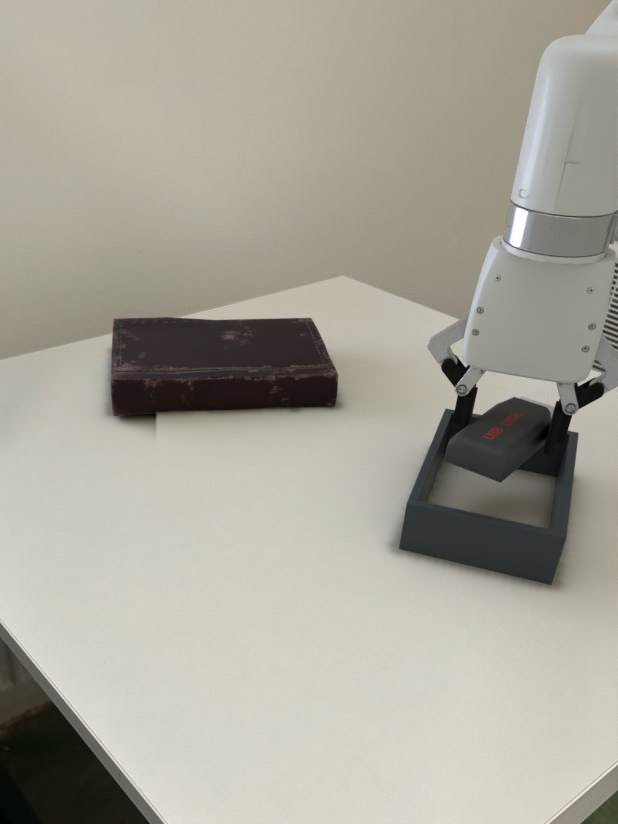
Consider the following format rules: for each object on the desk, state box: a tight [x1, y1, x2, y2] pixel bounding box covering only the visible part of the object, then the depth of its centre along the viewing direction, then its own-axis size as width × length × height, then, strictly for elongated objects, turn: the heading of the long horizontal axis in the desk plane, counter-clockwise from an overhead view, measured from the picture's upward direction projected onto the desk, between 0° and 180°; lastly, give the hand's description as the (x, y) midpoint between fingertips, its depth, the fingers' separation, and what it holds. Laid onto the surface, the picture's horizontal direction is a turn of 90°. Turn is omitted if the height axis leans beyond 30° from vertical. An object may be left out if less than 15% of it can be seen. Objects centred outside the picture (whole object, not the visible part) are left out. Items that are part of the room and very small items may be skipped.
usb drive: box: [443, 396, 555, 483], centre depth 71 cm, size 5×12×3 cm, turn 138°
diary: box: [110, 316, 339, 417], centre depth 98 cm, size 19×25×5 cm
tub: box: [398, 408, 579, 586], centre depth 75 cm, size 19×13×6 cm
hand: (505, 438), depth 72 cm, fingers closed on usb drive, 6 cm apart
